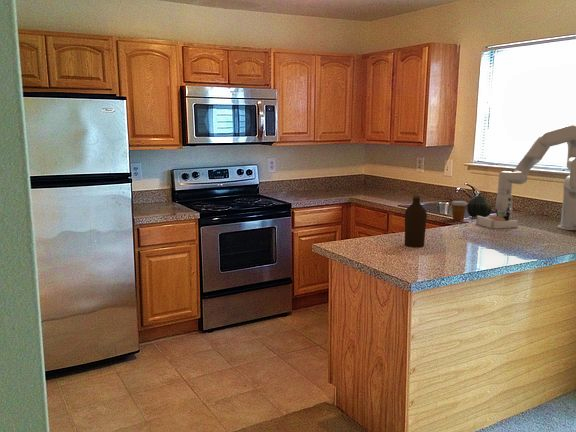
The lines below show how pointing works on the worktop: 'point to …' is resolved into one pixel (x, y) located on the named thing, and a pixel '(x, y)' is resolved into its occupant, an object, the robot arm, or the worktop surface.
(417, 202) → the olive oil
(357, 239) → the worktop surface
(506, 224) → the white open tray
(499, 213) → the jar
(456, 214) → the disposable coffee cup
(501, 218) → the pusher plate
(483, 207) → the squash
